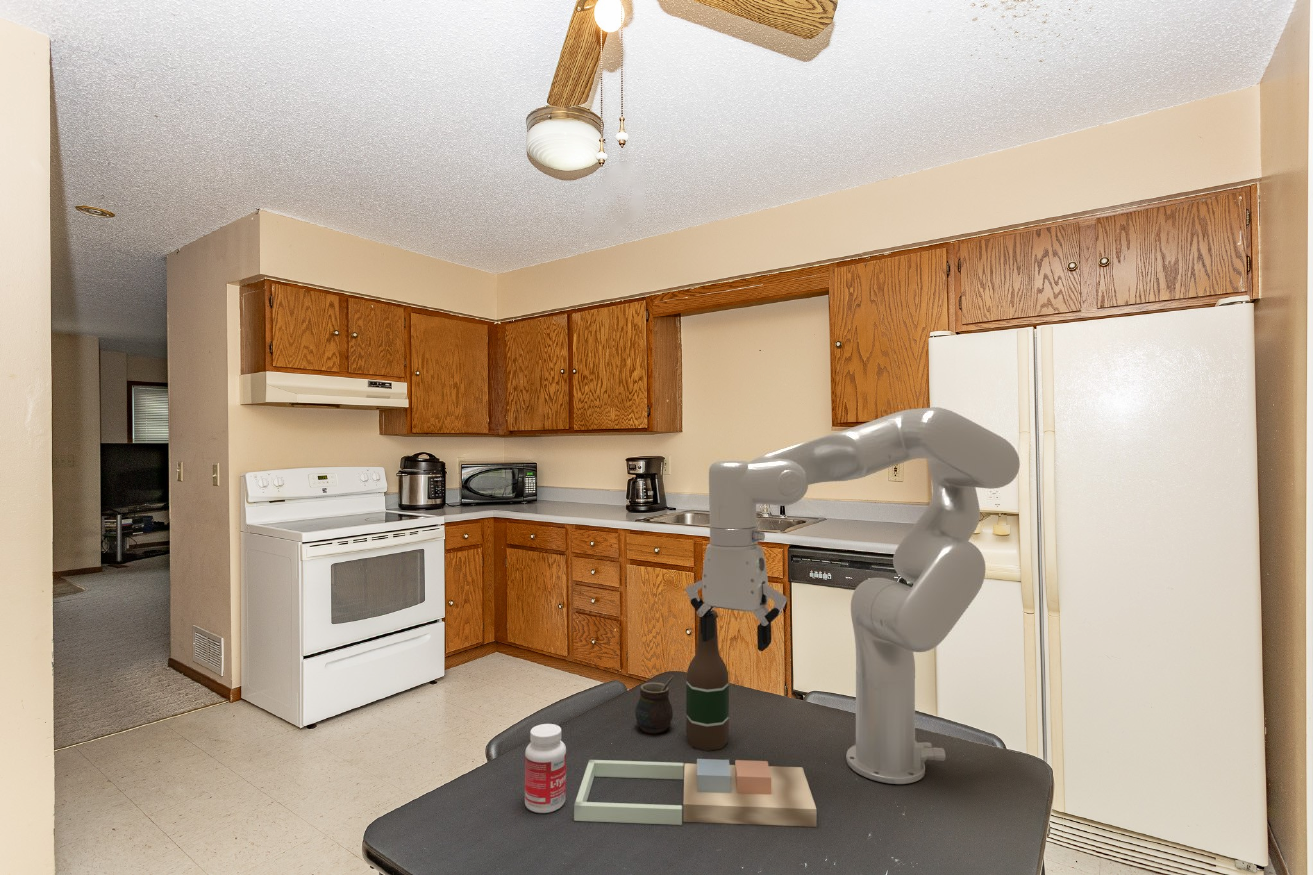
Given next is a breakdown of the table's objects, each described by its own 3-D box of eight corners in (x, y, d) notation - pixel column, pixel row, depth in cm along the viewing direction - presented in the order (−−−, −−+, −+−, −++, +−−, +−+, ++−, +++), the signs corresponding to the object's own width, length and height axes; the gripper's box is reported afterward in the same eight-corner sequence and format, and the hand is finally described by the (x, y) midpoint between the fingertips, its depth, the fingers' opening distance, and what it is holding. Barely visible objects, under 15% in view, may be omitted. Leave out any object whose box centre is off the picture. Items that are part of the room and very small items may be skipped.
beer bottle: (728, 733, 122) (728, 606, 122) (728, 752, 114) (729, 616, 114) (687, 731, 123) (687, 604, 123) (684, 750, 115) (685, 615, 115)
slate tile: (728, 775, 101) (728, 759, 101) (730, 792, 96) (730, 776, 96) (696, 774, 101) (697, 758, 102) (697, 791, 96) (697, 774, 97)
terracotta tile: (767, 777, 101) (767, 761, 101) (771, 794, 96) (771, 777, 96) (735, 776, 101) (735, 760, 101) (737, 793, 96) (737, 776, 96)
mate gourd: (628, 725, 125) (629, 673, 125) (662, 718, 129) (663, 667, 129) (645, 740, 119) (646, 685, 119) (680, 732, 122) (681, 679, 123)
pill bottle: (554, 817, 94) (555, 741, 94) (517, 810, 96) (517, 735, 96) (572, 795, 100) (573, 724, 100) (537, 789, 102) (537, 718, 102)
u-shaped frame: (683, 776, 106) (683, 762, 106) (681, 824, 92) (681, 809, 92) (589, 772, 107) (589, 759, 107) (574, 820, 93) (574, 805, 93)
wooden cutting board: (802, 782, 104) (802, 767, 104) (816, 826, 92) (816, 809, 92) (684, 778, 105) (684, 763, 105) (683, 821, 93) (683, 804, 93)
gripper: (792, 537, 102) (795, 645, 102) (696, 531, 111) (698, 630, 111) (775, 544, 96) (778, 659, 96) (675, 537, 105) (677, 642, 105)
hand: (735, 643), depth 104 cm, fingers open, 9 cm apart
